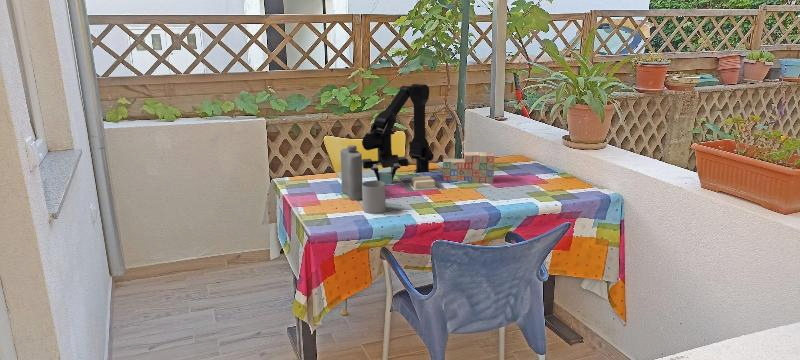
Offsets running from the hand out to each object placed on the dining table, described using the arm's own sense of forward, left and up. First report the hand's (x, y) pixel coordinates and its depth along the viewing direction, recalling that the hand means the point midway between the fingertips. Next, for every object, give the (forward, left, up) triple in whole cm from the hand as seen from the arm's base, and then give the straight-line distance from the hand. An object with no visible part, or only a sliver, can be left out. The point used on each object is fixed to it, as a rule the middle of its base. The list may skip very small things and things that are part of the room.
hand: (385, 182), depth 244 cm
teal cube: (0, 0, -1) cm, 1 cm away
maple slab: (+9, +14, 0) cm, 17 cm away
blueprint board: (+9, +14, -1) cm, 17 cm away
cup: (+31, -10, -1) cm, 33 cm away
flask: (+11, -15, -1) cm, 19 cm away
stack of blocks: (+3, +35, -1) cm, 35 cm away
